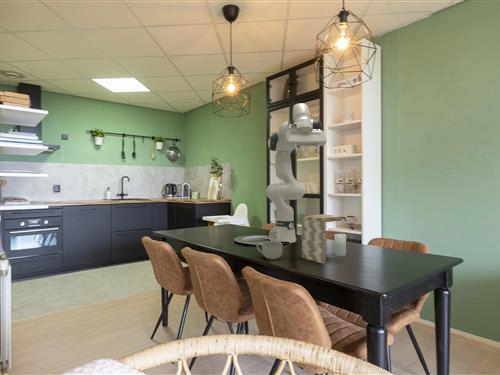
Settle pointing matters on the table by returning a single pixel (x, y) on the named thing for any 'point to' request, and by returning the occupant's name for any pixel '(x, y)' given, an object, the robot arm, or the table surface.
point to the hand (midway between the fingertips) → (307, 152)
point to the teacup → (271, 249)
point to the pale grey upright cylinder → (340, 244)
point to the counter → (315, 236)
